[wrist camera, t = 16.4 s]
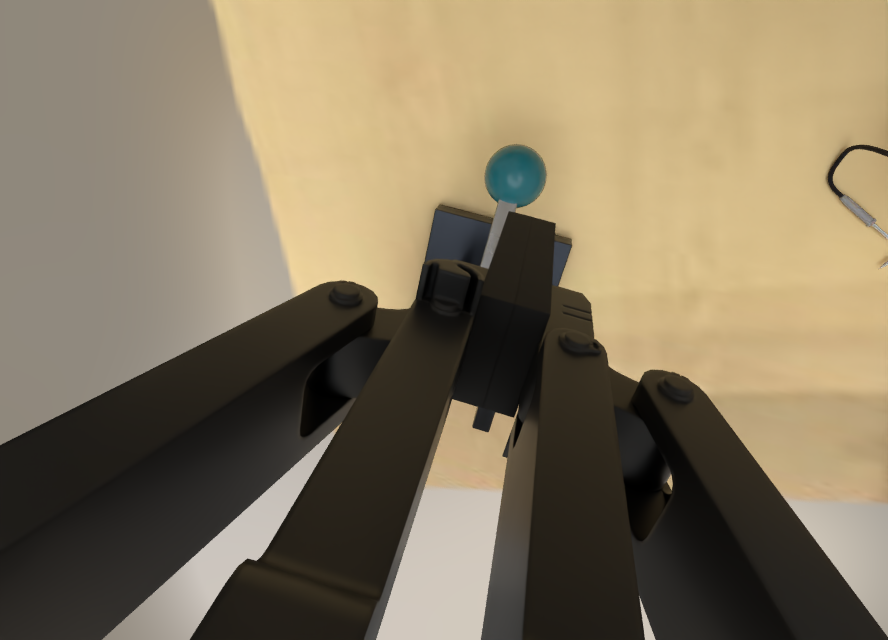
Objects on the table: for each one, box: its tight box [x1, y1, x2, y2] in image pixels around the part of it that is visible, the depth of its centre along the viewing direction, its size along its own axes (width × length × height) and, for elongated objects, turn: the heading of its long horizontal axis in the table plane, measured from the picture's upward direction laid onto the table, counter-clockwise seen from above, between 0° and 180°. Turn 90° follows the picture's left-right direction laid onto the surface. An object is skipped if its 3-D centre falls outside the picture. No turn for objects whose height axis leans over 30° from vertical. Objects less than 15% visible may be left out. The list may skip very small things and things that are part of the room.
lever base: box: [424, 205, 572, 432], centre depth 36 cm, size 12×10×14 cm
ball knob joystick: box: [480, 144, 547, 269], centre depth 31 cm, size 15×4×4 cm, turn 168°
